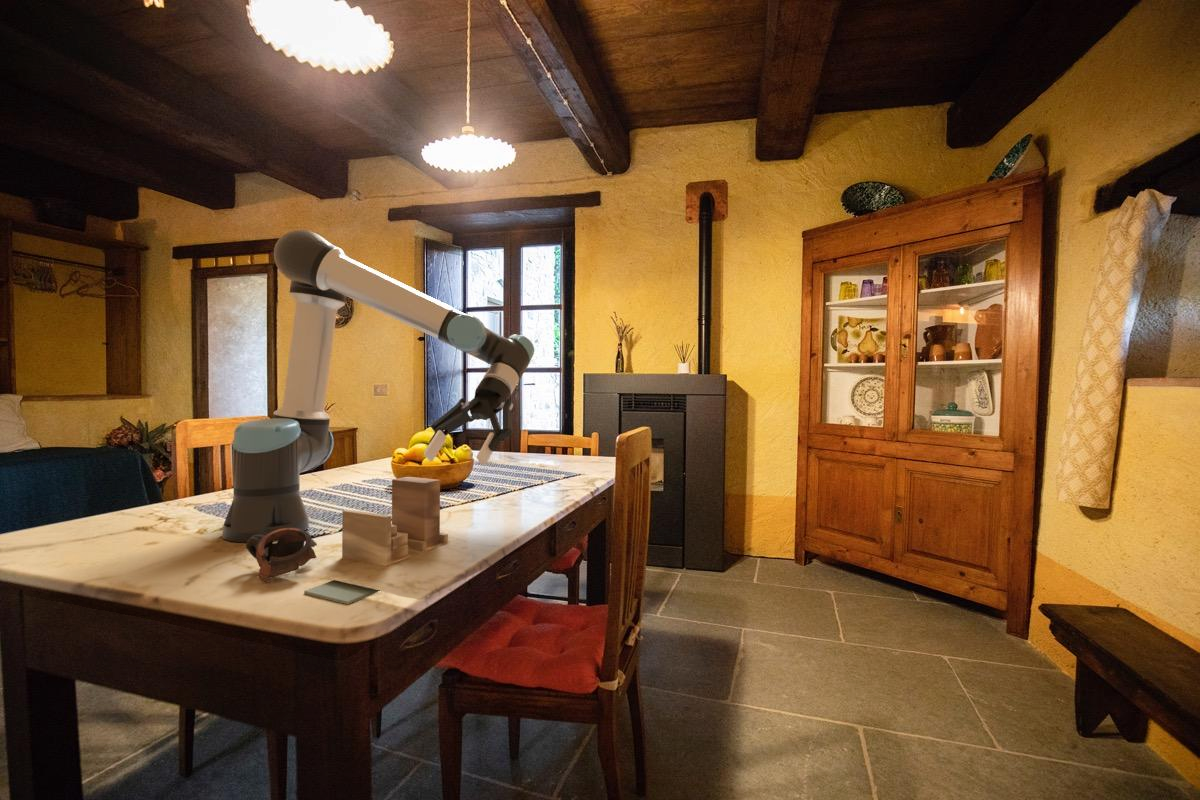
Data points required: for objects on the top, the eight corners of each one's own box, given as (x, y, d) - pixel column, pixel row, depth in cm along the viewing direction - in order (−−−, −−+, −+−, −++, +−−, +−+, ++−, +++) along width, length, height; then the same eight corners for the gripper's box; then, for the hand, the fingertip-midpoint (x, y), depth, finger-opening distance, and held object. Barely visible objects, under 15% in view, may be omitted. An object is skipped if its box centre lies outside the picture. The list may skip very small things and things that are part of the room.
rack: (411, 540, 104) (411, 494, 104) (450, 547, 100) (451, 499, 100) (342, 564, 90) (342, 510, 90) (385, 573, 86) (385, 517, 86)
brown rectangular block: (407, 537, 102) (408, 476, 102) (439, 543, 99) (440, 479, 99) (391, 543, 99) (392, 479, 98) (424, 548, 95) (424, 483, 95)
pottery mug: (331, 565, 91) (329, 530, 87) (293, 608, 83) (289, 572, 79) (267, 545, 92) (262, 510, 88) (223, 587, 83) (216, 550, 79)
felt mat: (355, 574, 85) (355, 572, 85) (397, 583, 81) (397, 580, 81) (304, 593, 77) (304, 590, 77) (347, 604, 73) (347, 601, 73)
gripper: (549, 399, 118) (511, 474, 105) (460, 397, 128) (416, 466, 115) (537, 375, 113) (496, 451, 100) (446, 375, 124) (397, 444, 110)
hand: (453, 459), depth 107 cm, fingers open, 13 cm apart
